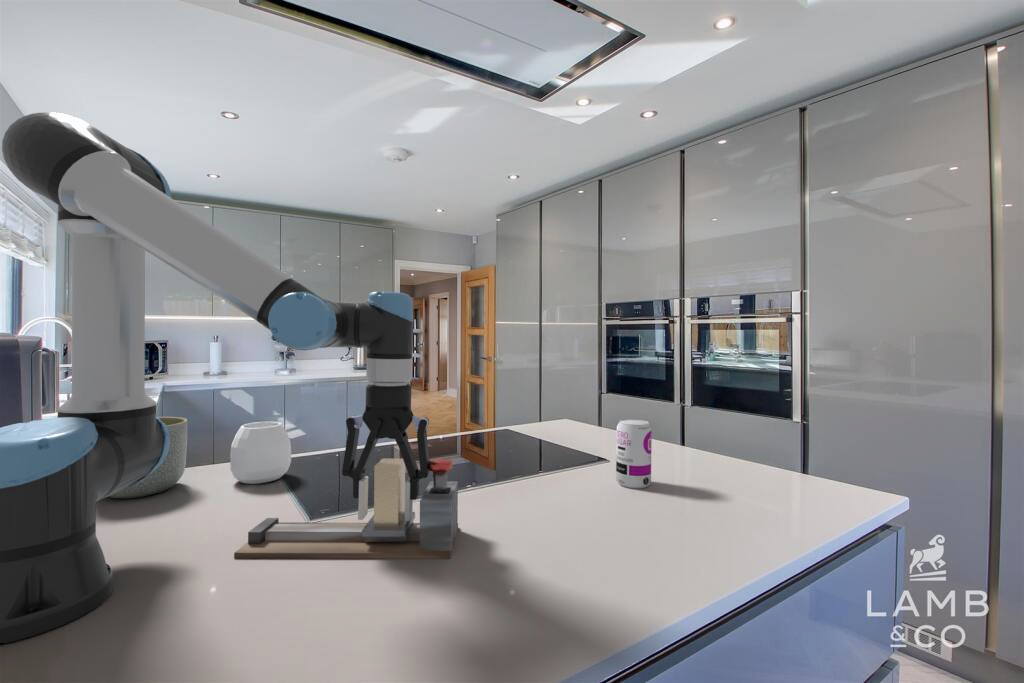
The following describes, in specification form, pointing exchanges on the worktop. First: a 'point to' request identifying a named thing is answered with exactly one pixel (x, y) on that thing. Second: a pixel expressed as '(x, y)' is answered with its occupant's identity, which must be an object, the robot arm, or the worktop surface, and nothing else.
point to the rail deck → (338, 549)
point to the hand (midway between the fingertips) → (385, 516)
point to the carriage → (388, 504)
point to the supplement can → (633, 453)
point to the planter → (163, 463)
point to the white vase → (260, 452)
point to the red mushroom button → (440, 474)
